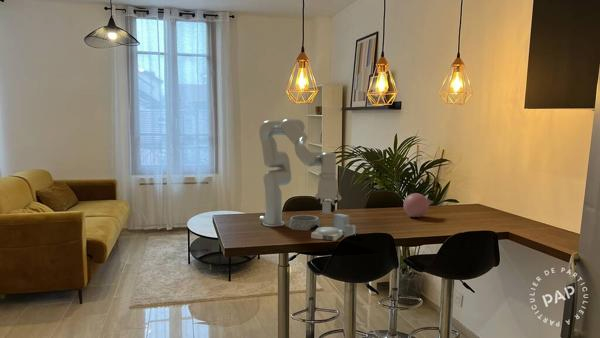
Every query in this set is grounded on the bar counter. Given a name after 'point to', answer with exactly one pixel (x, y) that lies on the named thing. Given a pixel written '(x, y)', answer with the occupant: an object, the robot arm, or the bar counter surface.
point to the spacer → (349, 230)
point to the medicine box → (341, 221)
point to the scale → (327, 233)
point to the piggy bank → (416, 205)
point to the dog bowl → (304, 222)
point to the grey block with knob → (326, 206)
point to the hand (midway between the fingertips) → (328, 211)
